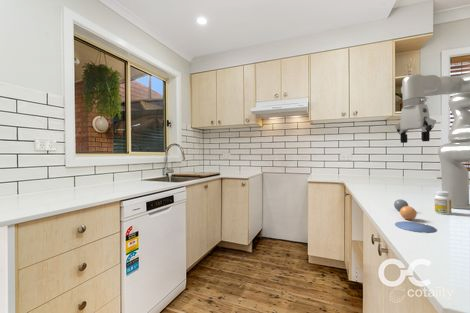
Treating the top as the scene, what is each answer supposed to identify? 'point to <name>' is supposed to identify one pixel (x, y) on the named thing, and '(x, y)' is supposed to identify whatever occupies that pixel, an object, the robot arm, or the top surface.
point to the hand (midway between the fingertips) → (414, 142)
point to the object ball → (408, 212)
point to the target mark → (415, 227)
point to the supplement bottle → (443, 203)
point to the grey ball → (400, 204)
